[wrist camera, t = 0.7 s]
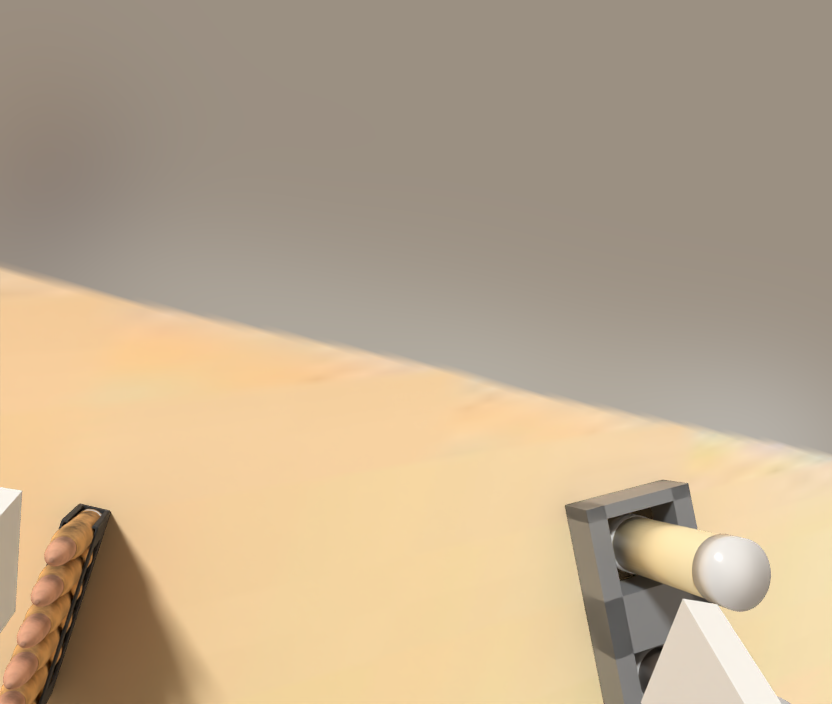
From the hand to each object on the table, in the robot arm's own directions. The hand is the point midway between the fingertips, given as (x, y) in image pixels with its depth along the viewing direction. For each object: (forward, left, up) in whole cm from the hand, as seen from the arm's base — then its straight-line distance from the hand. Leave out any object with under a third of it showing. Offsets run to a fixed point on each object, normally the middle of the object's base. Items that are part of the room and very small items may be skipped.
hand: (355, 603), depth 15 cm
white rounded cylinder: (-10, -25, -33) cm, 42 cm away
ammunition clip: (-5, +11, -33) cm, 36 cm away
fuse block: (-15, -25, -33) cm, 44 cm away
